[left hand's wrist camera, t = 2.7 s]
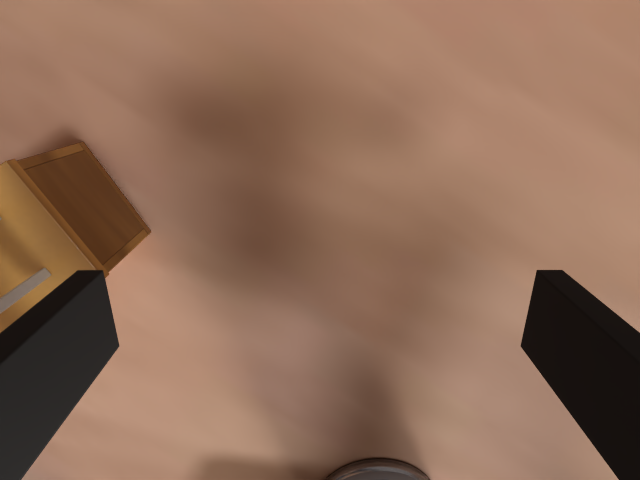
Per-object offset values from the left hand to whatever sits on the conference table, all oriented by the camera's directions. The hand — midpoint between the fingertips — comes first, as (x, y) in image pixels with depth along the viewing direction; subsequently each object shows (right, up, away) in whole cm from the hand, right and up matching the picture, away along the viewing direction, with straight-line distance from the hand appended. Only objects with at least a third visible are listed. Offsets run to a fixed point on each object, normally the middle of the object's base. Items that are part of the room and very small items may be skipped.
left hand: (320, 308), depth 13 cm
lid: (-24, 0, +17) cm, 29 cm away
